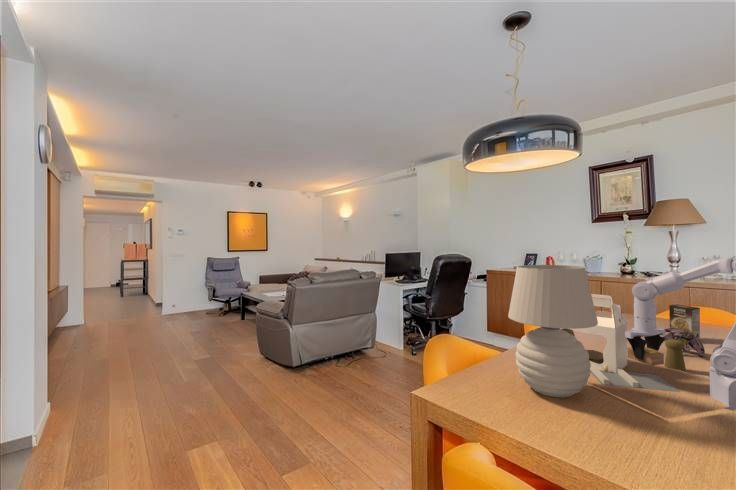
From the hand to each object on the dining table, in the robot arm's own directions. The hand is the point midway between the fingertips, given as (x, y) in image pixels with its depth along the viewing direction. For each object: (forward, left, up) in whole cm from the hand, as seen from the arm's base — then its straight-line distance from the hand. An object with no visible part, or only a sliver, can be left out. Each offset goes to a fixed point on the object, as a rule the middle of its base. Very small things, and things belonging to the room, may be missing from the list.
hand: (645, 357), depth 111 cm
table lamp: (-14, +31, -9) cm, 35 cm away
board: (-1, +5, -8) cm, 10 cm away
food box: (+62, -42, -9) cm, 75 cm away
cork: (+16, -16, -9) cm, 24 cm away
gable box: (+16, +12, -9) cm, 22 cm away
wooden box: (0, 0, -1) cm, 1 cm away
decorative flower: (+37, -29, -9) cm, 48 cm away
